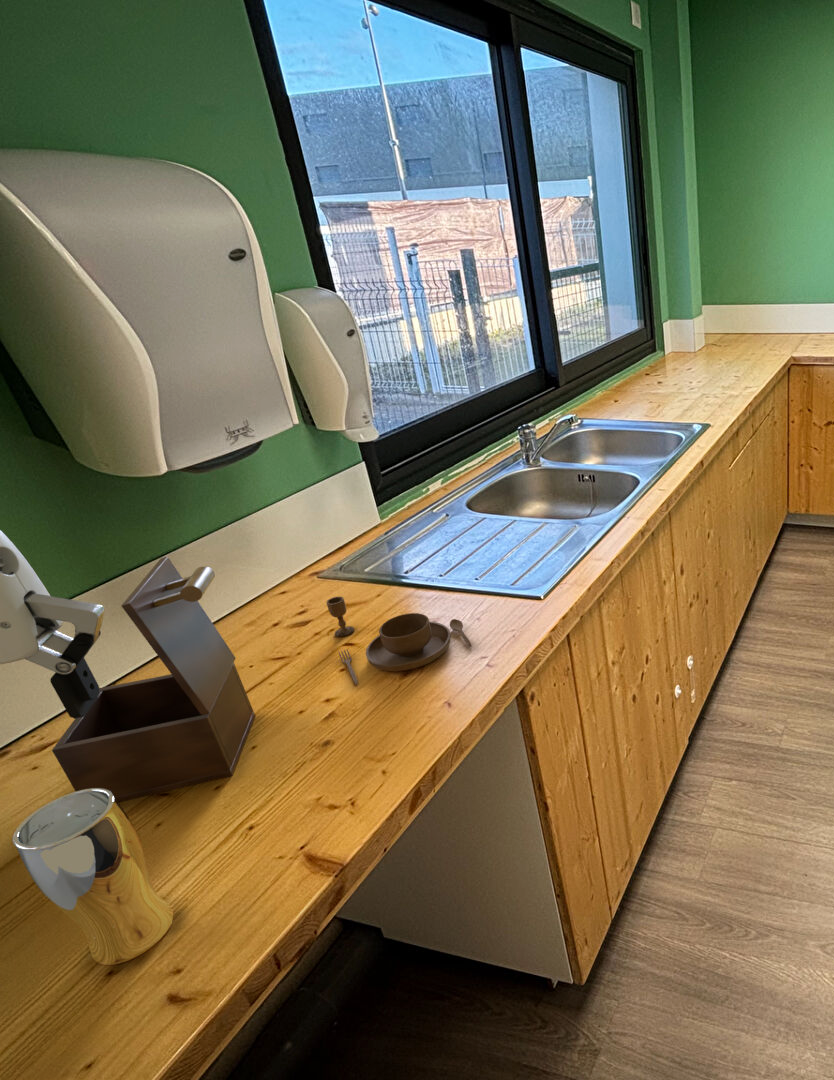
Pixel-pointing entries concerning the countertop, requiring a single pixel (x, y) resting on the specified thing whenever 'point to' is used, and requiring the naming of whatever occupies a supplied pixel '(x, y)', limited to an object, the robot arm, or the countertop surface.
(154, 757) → the chest
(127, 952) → the beer glass
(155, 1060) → the countertop surface
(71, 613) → the robot arm
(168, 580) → the lid
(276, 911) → the countertop surface
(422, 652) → the place setting
